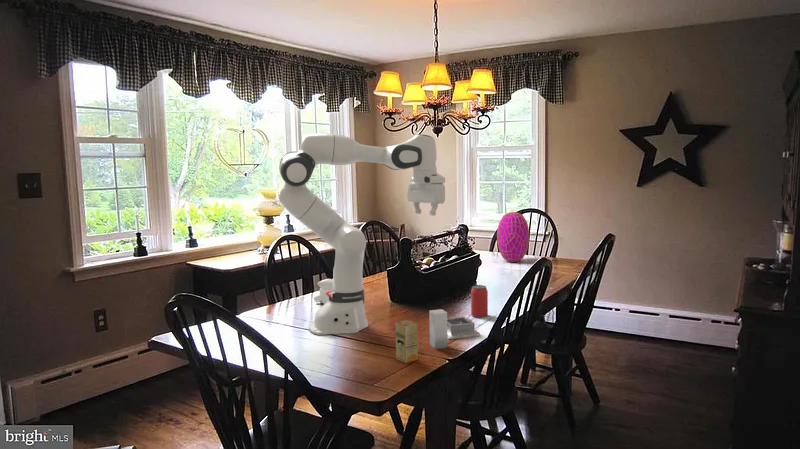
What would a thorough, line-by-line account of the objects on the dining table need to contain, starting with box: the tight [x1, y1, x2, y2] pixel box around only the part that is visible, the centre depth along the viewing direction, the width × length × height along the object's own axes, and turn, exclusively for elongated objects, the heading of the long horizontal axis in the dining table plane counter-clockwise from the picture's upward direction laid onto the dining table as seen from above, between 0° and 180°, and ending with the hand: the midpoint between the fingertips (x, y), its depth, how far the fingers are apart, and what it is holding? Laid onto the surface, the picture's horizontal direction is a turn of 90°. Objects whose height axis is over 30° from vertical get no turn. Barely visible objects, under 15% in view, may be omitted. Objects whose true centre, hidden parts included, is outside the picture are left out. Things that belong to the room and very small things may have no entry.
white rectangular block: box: [428, 308, 449, 350], centre depth 191 cm, size 5×5×12 cm
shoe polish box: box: [395, 319, 419, 364], centre depth 179 cm, size 5×5×12 cm
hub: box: [447, 316, 481, 340], centre depth 205 cm, size 12×12×4 cm
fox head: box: [313, 278, 334, 305], centre depth 249 cm, size 13×17×20 cm
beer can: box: [470, 284, 489, 319], centre depth 226 cm, size 7×7×12 cm
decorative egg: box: [496, 211, 530, 263], centre depth 340 cm, size 19×19×30 cm
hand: (425, 214), depth 214 cm, fingers open, 8 cm apart
